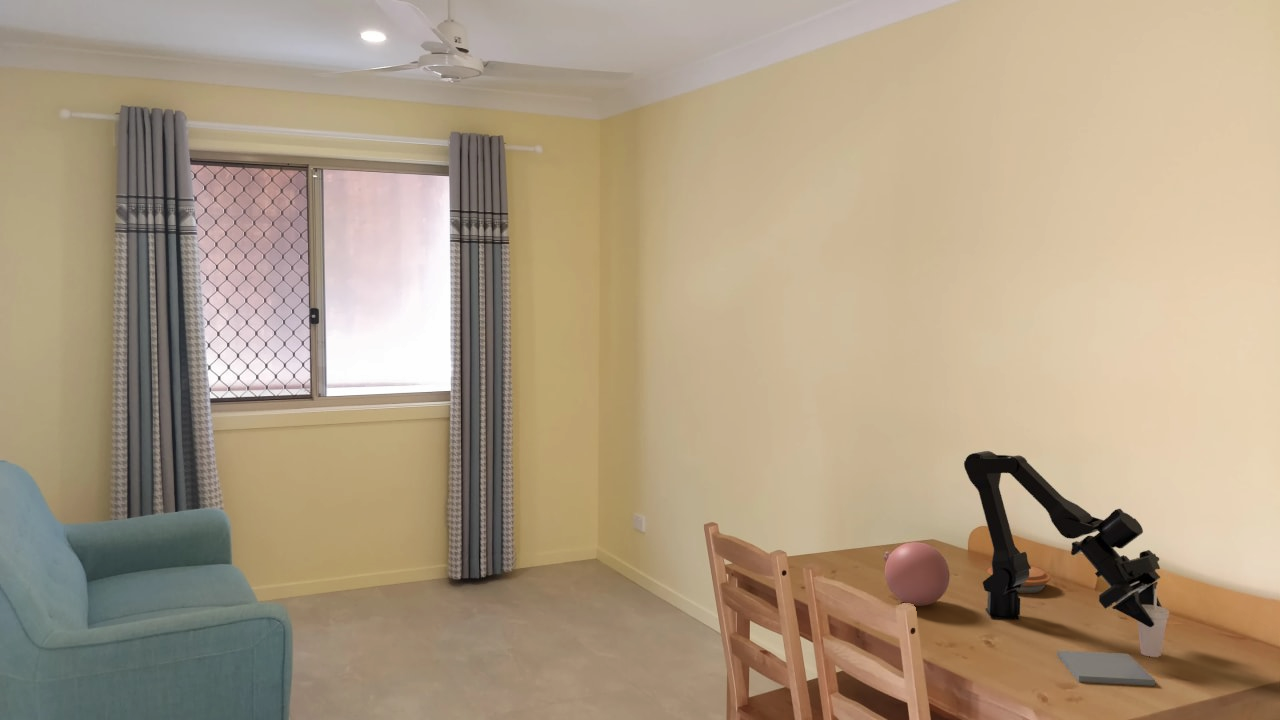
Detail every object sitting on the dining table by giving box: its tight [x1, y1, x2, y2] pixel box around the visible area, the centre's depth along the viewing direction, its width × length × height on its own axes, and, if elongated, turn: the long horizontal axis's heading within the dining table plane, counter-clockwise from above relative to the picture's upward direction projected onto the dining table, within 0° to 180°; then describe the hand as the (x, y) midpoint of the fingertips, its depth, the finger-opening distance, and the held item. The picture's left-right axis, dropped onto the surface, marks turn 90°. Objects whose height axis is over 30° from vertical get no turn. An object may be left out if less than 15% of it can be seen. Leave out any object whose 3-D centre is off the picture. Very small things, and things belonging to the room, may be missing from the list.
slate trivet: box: [1056, 649, 1156, 687], centre depth 190 cm, size 14×14×1 cm
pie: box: [987, 566, 1051, 594], centre depth 247 cm, size 16×16×5 cm
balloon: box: [883, 541, 951, 607], centre depth 234 cm, size 15×20×15 cm
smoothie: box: [1137, 588, 1170, 658], centre depth 198 cm, size 6×6×14 cm
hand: (1158, 622), depth 197 cm, fingers closed on smoothie, 6 cm apart
